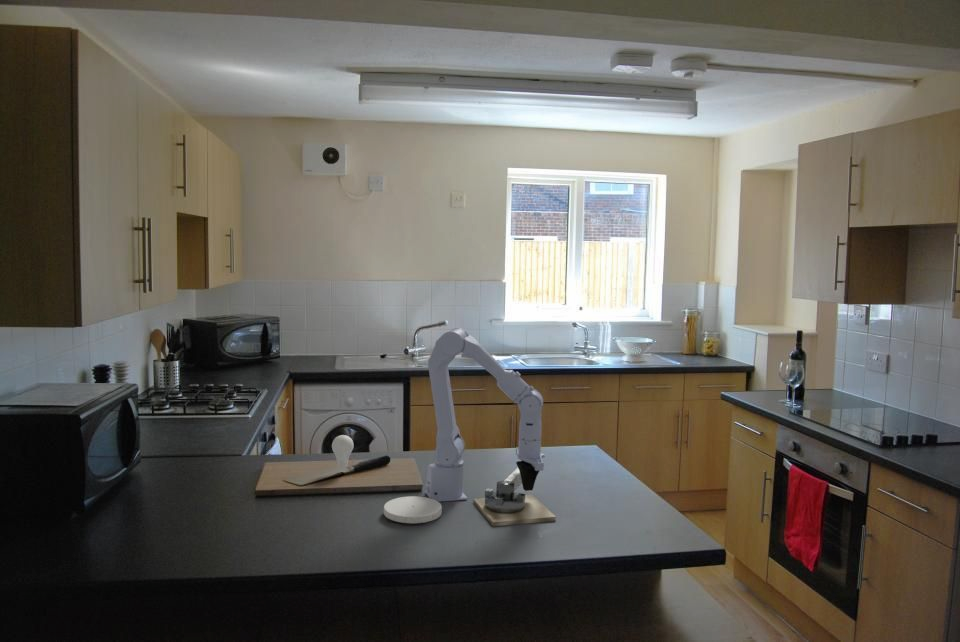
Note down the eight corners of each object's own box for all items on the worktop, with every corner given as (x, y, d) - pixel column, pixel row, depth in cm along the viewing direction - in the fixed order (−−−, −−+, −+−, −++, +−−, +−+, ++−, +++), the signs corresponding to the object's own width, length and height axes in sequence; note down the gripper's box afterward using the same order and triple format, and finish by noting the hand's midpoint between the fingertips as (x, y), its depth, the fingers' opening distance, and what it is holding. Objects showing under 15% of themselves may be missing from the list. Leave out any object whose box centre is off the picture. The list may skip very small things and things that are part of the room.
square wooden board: (492, 526, 166) (493, 520, 166) (472, 501, 182) (472, 496, 181) (555, 520, 170) (555, 515, 170) (530, 497, 186) (530, 492, 186)
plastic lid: (449, 510, 176) (449, 500, 176) (430, 530, 163) (430, 520, 162) (397, 503, 180) (397, 493, 179) (374, 522, 166) (374, 512, 166)
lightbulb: (341, 477, 197) (342, 439, 196) (327, 473, 201) (327, 435, 200) (357, 472, 202) (358, 435, 201) (343, 468, 206) (343, 431, 205)
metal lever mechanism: (518, 515, 170) (519, 492, 169) (479, 509, 173) (479, 486, 172) (539, 490, 188) (540, 469, 188) (503, 485, 192) (504, 464, 191)
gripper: (555, 444, 174) (553, 498, 176) (534, 430, 188) (532, 479, 189) (529, 446, 172) (527, 500, 173) (509, 431, 186) (507, 481, 187)
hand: (527, 489), depth 181 cm, fingers closed
